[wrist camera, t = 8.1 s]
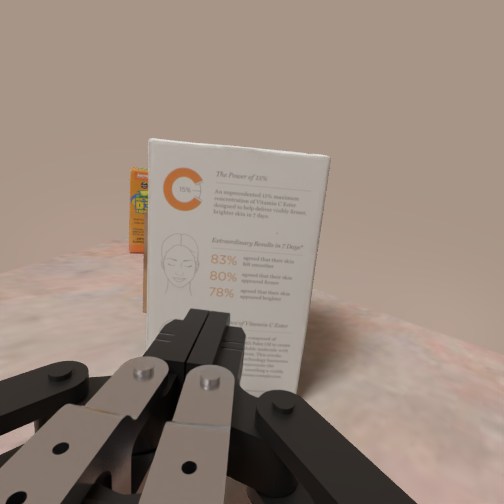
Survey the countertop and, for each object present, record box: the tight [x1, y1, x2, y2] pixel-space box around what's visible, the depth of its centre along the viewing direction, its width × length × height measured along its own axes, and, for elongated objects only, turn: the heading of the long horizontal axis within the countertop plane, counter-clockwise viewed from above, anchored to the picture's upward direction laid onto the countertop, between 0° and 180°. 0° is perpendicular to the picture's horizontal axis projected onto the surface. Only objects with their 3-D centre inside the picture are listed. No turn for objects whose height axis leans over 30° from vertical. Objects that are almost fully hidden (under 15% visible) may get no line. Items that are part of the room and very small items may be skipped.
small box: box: [146, 138, 331, 398], centre depth 20 cm, size 8×6×13 cm
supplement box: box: [129, 167, 148, 253], centre depth 42 cm, size 3×3×10 cm
